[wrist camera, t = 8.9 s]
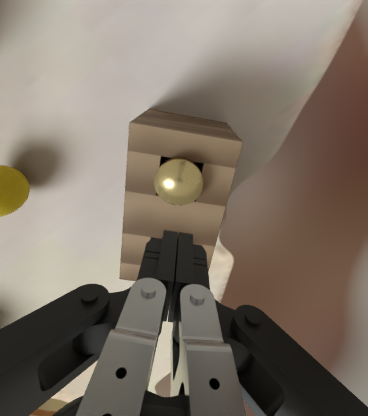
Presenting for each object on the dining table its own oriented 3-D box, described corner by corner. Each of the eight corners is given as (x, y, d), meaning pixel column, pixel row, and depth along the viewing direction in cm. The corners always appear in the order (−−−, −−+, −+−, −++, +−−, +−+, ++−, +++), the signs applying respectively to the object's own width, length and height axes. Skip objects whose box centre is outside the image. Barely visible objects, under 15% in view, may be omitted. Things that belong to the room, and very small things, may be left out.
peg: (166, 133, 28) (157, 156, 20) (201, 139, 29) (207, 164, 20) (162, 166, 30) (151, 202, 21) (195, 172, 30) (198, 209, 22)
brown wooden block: (148, 109, 28) (129, 122, 19) (226, 123, 29) (242, 142, 20) (136, 229, 36) (119, 278, 27) (199, 238, 36) (203, 290, 27)
